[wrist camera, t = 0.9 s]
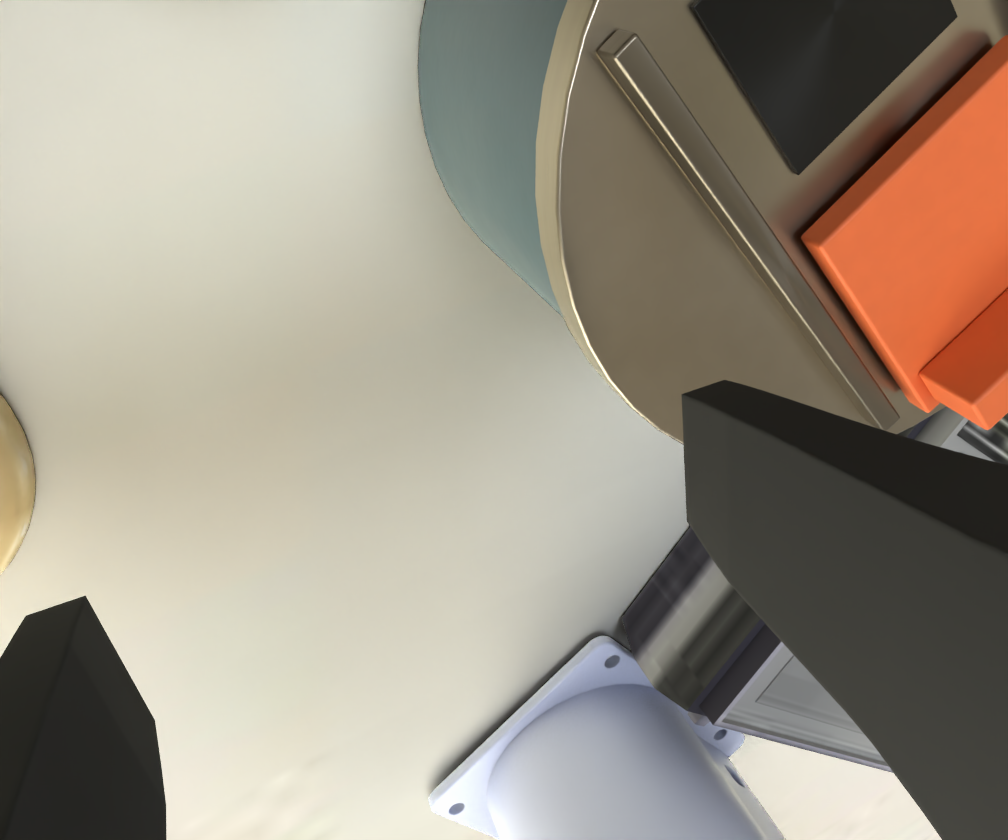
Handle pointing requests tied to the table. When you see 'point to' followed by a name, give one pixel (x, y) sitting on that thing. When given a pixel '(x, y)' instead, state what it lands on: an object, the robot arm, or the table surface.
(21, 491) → the hand bell
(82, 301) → the table surface
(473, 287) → the table surface
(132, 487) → the table surface
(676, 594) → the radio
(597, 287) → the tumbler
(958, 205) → the slider
